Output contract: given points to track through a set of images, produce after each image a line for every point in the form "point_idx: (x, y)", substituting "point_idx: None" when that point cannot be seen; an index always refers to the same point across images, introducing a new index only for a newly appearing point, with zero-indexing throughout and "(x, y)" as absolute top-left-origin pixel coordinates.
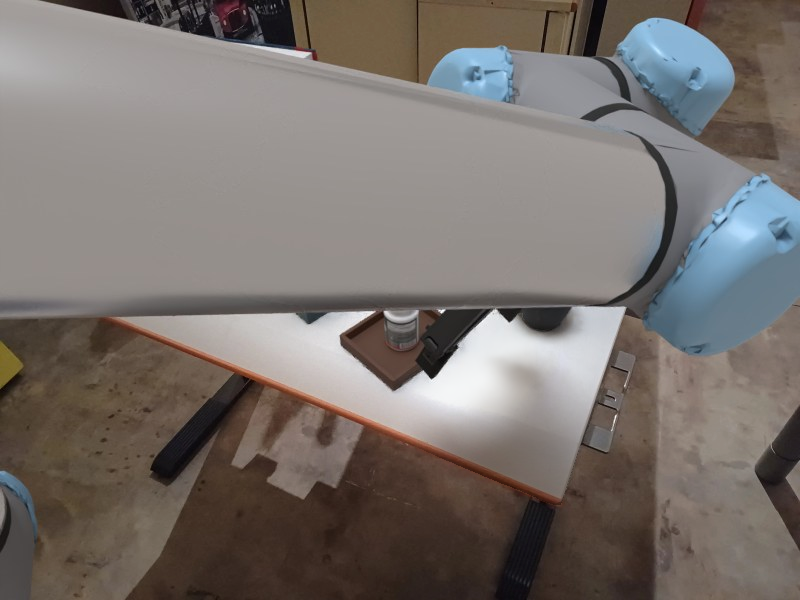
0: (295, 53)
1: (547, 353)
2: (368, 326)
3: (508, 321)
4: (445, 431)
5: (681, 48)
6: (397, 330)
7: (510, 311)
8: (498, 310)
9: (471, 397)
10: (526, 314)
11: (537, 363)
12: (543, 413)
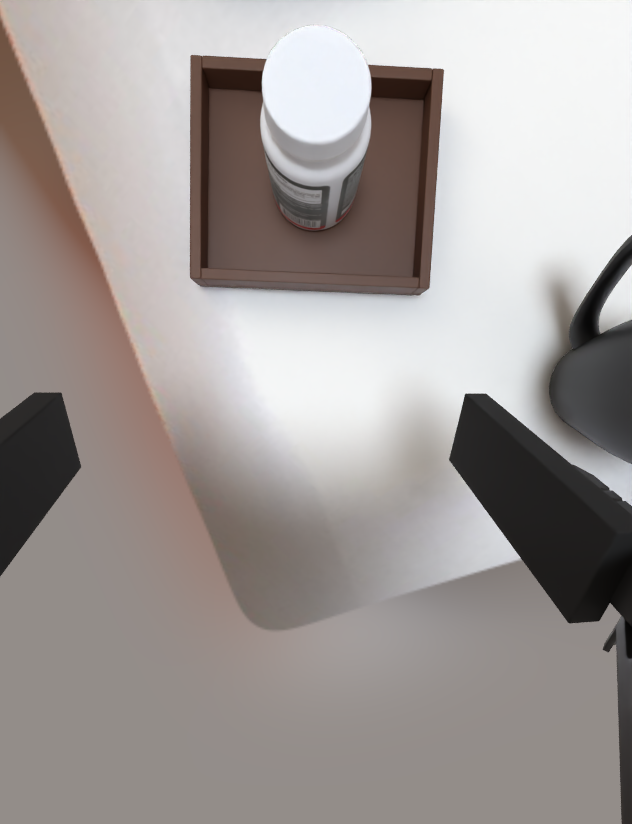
0: None
1: None
2: None
3: (451, 456)
4: (207, 431)
5: None
6: (272, 175)
7: (473, 466)
8: (462, 414)
9: (304, 415)
10: (568, 376)
11: None
12: (372, 537)
